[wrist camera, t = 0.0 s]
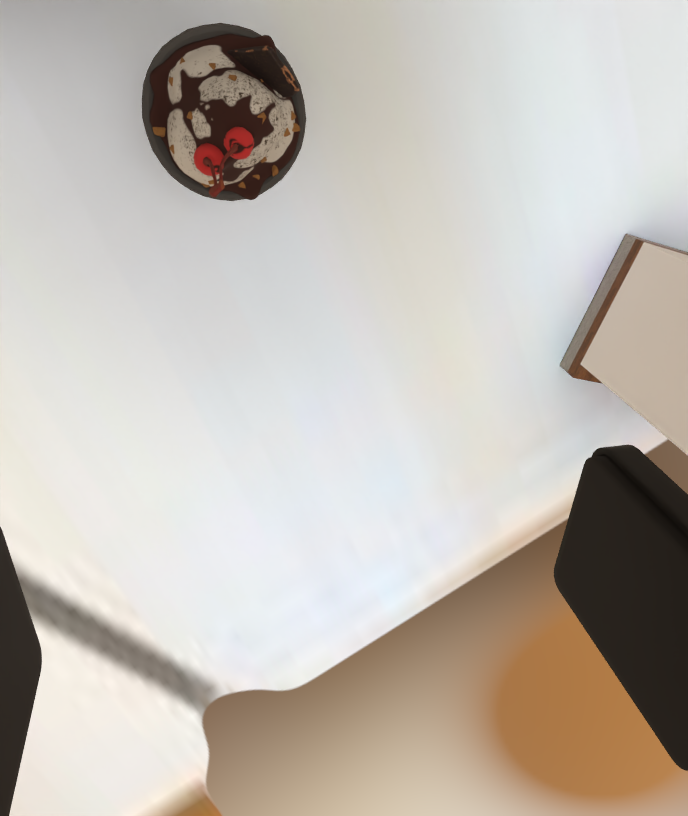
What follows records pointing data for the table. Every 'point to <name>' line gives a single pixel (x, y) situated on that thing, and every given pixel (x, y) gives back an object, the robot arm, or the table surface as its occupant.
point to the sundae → (223, 111)
